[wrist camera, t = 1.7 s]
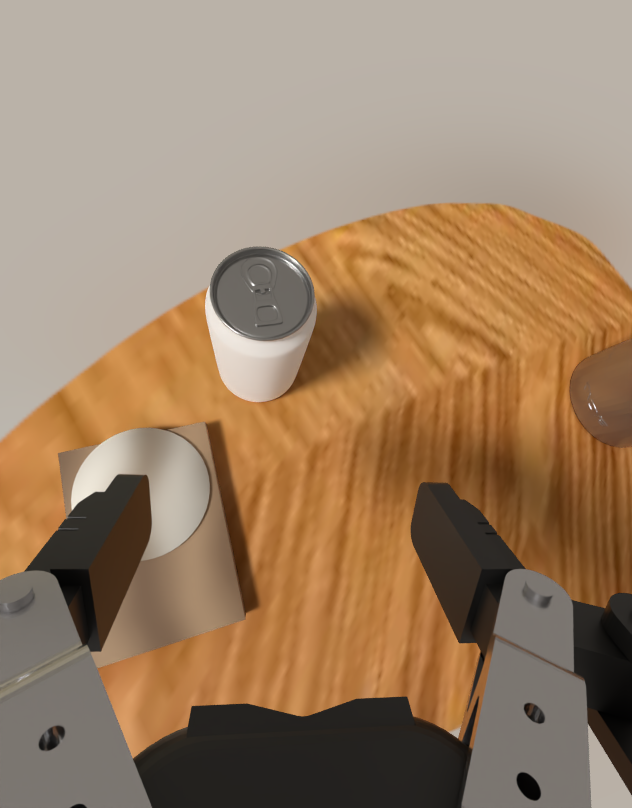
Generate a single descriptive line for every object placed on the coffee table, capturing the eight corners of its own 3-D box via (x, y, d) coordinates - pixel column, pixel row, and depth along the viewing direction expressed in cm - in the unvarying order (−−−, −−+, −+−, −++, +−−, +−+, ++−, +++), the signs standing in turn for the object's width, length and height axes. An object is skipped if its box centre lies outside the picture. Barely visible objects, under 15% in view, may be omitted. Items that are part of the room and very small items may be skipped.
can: (288, 325, 34) (309, 235, 22) (304, 396, 33) (333, 339, 21) (212, 335, 32) (192, 244, 21) (225, 409, 31) (211, 356, 20)
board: (205, 419, 31) (203, 414, 29) (245, 613, 28) (245, 620, 26) (66, 449, 29) (55, 445, 27) (94, 662, 26) (83, 674, 24)
